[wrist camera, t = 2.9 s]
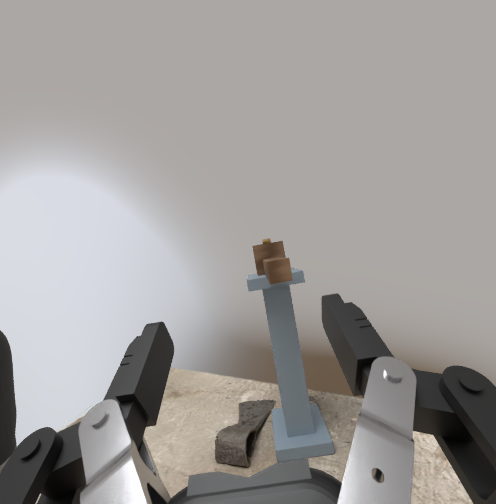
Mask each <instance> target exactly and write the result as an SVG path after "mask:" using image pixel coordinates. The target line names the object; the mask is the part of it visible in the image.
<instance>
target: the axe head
mask: <svg viewBox="0 0 496 504" xmlns="http://www.w3.org/2000/svg"><path fill="white" fill-rule="evenodd" d="M275 404H276V401H274V400H261V401H259V400H257V401H248V402H242V403H240V404H239V422H238V424H235V425H233V426H228V427H226V428H224V429H222V430H221V431H220V432H219V433H218V434H217V436H216V438H217V439H216V440H215V459H216V461H217V462H218V463H223V464H224V463H227V464H231V465H239V466H245V467H248V466H249V465H250V461H249V459H248V458H247V457H248V456H249V457H251V456H252V453H253V449H254V448H253V444H254V442H255V441H256V432H257V430H259V429H260V427H261V426H262V424H263V422H264V420H265V419H266V417H268V415H269V413H270V412H271V409H273V407H274V405H275Z"/></svg>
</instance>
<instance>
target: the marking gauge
mask: <svg viewBox="0 0 496 504" xmlns="http://www.w3.org/2000/svg"><path fill="white" fill-rule="evenodd" d="M253 251H254V257H255V263H256V269H257V275H258V276H261V275H266V277H267V279H268V281H269V283H270V284H275V283H281V282H287V281H293V278H292V272H291V267H290V261H289V258H285V252H284V247H283V241H279V242H274V243H271V241H270V239H264V240H263V244H262V245H256V246H253Z"/></svg>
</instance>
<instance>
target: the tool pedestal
mask: <svg viewBox="0 0 496 504" xmlns="http://www.w3.org/2000/svg"><path fill="white" fill-rule="evenodd" d="M291 272H292V278H293V281H287V282H281V283H275V284H270V283H269V281H268V279H267V277H266V275H261V276H258V275H257V274H253V275H248V278H247V284H248V289H249V291H255V290H261V289H262V290H263V296H264V302H265V307H266V314H267V319H268V325H269V331H270V337H271V343H272V349H273V355H274V361H275V366H276V372H277V377H278V384H279V390H280V396H281V402H282V408H278V409H271V412H272V421H273V431H274V440H275V449H276V456H277V462H282V461H289V460H296V459H303V458H310V457H317V456H323V455H330V454H335V452H334V446H333V442H332V439H331V437H330V434H329V432H328V430H327V427H326V425H325V422H324V420H323V418H322V415H321V413H320V410H319V408H318V406H317V403H311V404H310V403H309V397H308V391H307V386H306V380H305V374H304V368H303V362H302V356H301V351H300V345H299V340H298V333H297V328H296V322H295V316H294V310H293V304H292V298H291V293H290V287H289V285H291V284H297V283H303V282H305V280H304V274H303V271H301V270H298V269H295V268H291Z"/></svg>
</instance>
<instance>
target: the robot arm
mask: <svg viewBox="0 0 496 504" xmlns="http://www.w3.org/2000/svg"><path fill="white" fill-rule="evenodd" d="M322 322H323V327H324V330H325V332H326V335H327V337H328V339H329V341H330V343H331V346H332V348H333V350H334V352H335V355H336V357H337V359H338V361H339V364H340V366H341V368H342V370H343V373H344V375H345V377H346V379H347V382H348V384H349V386H350V389H351V391H352V393H353V395H354V396H358V395H362V396H363V398H364V400H363V404H362V408H361V412H360V414H359V417H358V420H357V424H356V429H355V433H354V437H353V441H352V445H351V449H350V453H349V457H348V462H347V466H346V470H345V474H344V478H343V482H342V483H341V482H340V481H338V480H337V479H335V478H334V477H333V476H331V475H329V474H327V473H325V472H323V471H321V470H318V469H314V468H310V467H309V464H308V459H300V460H293V461H286V462H279V463H276V464H274V465H272V466H271V467H269V468H267V469H265V470H263V471H261V472H259V473H257V474H255V475H253V476H251V477H242V476H237V475H232V474H228V473H223V472H211V473H204V474H197V475H190V476H189V481H188V487H186V488H184V489H182V490H181V491H180V492H178V493H177V494H176V495H175V496H173V497H172V498H171V497H170V495H169V493H168V491H167V490H166V488H165V486H164V484H163V482H162V480H161V478H160V476H159V473H158V471H157V468H156V466H155V463H154V461H153V458H152V456H151V453H150V450H149V448H148V445H147V443H146V440H145V438H144V436H143V435H144V431H145V428H146V427H148V426H154V425H156V422H157V418H158V414H159V410H160V406H161V402H162V398H163V394H164V390H165V386H166V382H167V378H168V375H169V371H170V367H171V363H172V359H173V355H174V345H173V341H172V339H171V337H170V335H169V333H168V330H167V328H166V326H165V324H164V323H163V322H157V323H151V324H147V325H146V326H145V328H144V330H143V332H142V335H141V336H137V337H136V338H135V339H134V340H133V342H132V343H131V344H130V345H129V347H128V348H127V351H126V353H125V355H124V358H123V359H122V361H121V364H120V367H119V368H118V370H117V372H116V374H115V376H114V379H113V381H112V383H111V385H110V387H109V389H108V392H107V394H106V396H105V398H104V400H103V401H102V402H100V403H98V404H96V405H95V406H94V407H92V408H91V409H90V410H89V411H88V412H87V413H86V415H85V416H84V418H83V419H82V421H81V422H79V423H77V424H75V425H73V426H71V427H69V428H66V429H64V430H62V431H60V432H58V433H57V432H56V431H54V430H53V429H52V428H50V427H45V428H41V429H39V430H37V431H35V432H33V433H32V434H30V435H29V436H28V437H27V438H25V439H24V440H23V441H22V442H21V443H20V444H19V445H18V446H16V438H15V428H16V404H15V393H14V383H13V382H14V380H13V364H12V355H11V350H10V346H9V343H8V340H7V338H6V336H5V335H4V334H3V333H2V332H1V331H0V504H35V503H36V501H37V499H38V497H39V494H40V493H41V497H40V499H39V501H38V503H37V504H411V493H412V478H413V463H414V440H413V438H412V434H413V431H417V432H422V433H426V434H431V435H434V437H435V439H436V440H437V442H438V444H439V445H440V447H441V449H442V451H443V452H444V454H445V456H446V457H447V459H448V461H449V462H450V464H451V466H452V468H453V469H454V471H455V473H456V474H457V476H458V478H459V480H460V481H461V483H462V485H463V486H464V488H465V490H466V492H467V493H468V495H469V497H470V498H471V500H472V502H473V503H474V504H496V387H495V386H494V385H493V384H492V383H491V382H490V381H489V380H488V379H487V378H486V377H485V376H483V375H482V374H480V373H478V372H476V371H475V370H472V369H470V368H466V367H463V366H450V367H447V368H446V369H445V370H444V372H443V374H439V373H432V372H425V371H419V370H415V369H411V368H410V367H409V366H408V365H407V364H405V363H404V362H402V361H400V360H399V359H396V358H395V357H393V355H392V354H391V352H390V351H389V349H388V348H387V346H386V345H385V343H384V342H383V341H382V339H381V338H380V336H379V335H378V333H377V332H376V330H375V329H374V328H373V327H372V325H371V323H370V322H369V320H367V317H366V316H365V314H364V313H363V312H362V310H361V309H360V308H358V307H357V306H356V305H354V304H353V303H352V302H350V303H344V302H343V300H342V299H341V297H340V295H339V294H331V295H325V296H322Z"/></svg>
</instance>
